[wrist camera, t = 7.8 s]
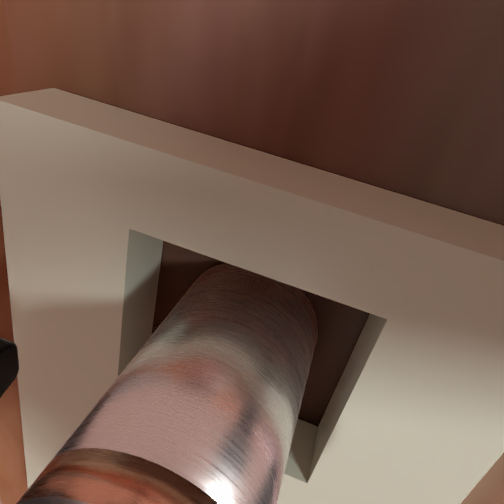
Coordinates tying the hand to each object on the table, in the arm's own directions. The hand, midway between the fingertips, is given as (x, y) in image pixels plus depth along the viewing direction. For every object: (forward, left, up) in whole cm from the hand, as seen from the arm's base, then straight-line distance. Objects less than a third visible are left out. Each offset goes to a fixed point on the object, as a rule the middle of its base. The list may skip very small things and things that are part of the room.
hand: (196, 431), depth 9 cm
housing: (0, +4, -4) cm, 6 cm away
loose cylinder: (0, 0, -4) cm, 4 cm away
